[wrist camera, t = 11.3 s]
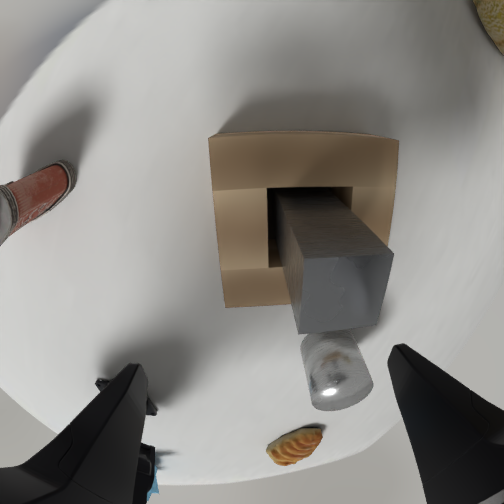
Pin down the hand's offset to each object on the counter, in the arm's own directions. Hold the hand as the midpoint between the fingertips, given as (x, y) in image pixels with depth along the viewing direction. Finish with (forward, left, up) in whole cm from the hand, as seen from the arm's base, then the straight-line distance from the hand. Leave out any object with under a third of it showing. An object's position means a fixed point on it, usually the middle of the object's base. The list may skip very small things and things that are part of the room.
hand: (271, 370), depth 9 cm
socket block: (+2, -3, -12) cm, 12 cm away
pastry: (-34, -5, -12) cm, 36 cm away
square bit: (+2, -3, -12) cm, 12 cm away
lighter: (+5, +17, -12) cm, 21 cm away
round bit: (-12, -6, -12) cm, 18 cm away
